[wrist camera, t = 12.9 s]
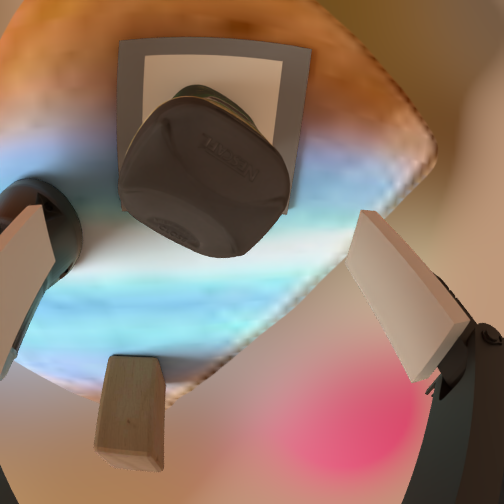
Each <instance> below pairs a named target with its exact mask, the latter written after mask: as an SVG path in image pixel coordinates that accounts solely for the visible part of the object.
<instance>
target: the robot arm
mask: <svg viewBox="0 0 504 504" xmlns="http://www.w3.org/2000/svg"><path fill="white" fill-rule="evenodd" d="M81 248H82V230H81V225H80V222H79V219H78V217H77V214H76V212H75V210H74V209H73V207H72V205H71V204H70V202H69V201H68V200H67V199H66V197H65V196H64V195H63V194H62V193H61V192H60V191H58V190H57V189H56V188H54V187H53V186H51V185H50V184H48V183H46V182H43V181H40V180H37V179H22V180H19V181H16V182H14V183H13V184H11V185H10V186H9V187H7V188H6V189H5V190H4V191H3V192H2V193H1V194H0V381H1V380H2V379H3V378H4V377H5V376H6V375H7V373H8V371H9V368H10V366H11V364H12V362H13V360H14V359H15V358H16V357H17V355H18V350H19V348H20V345H21V343H22V340H23V338H24V336H25V333H26V331H27V329H28V327H29V324H30V322H31V320H32V318H33V315H34V313H35V311H36V309H37V307H38V305H39V303H40V301H41V299H42V297H43V295H44V293H45V291H46V290H47V289H49V288H50V287H51V286H53V285H54V284H55V283H56V282H58V281H59V280H60V279H62V278H63V277H64V276H66V275H67V274H68V273H69V272H70V270H71V269H72V268H73V266H74V264H75V262H76V260H77V259H78V257H79V254H80V252H81ZM345 265H346V266H347V268H348V270H349V271H350V273H351V275H352V276H353V278H354V280H355V281H356V283H357V285H358V286H359V288H360V290H361V291H362V293H363V295H364V296H365V298H366V300H367V301H368V303H369V305H370V307H371V308H372V310H373V312H374V314H375V316H376V317H377V319H378V321H379V323H380V324H381V326H382V328H383V330H384V332H385V333H386V335H387V337H388V339H389V341H390V343H391V344H392V346H393V348H394V350H395V352H396V354H397V356H398V358H399V359H400V361H401V363H402V365H403V367H404V369H405V371H406V373H407V375H408V377H409V378H410V381H411V383H413V382H417V381H421V380H424V379H427V378H429V376H430V375H431V374H432V372H434V370H435V369H436V368H437V367H438V369H439V371H440V372H441V374H440V375H439V376H438V377H437V379H436V380H435V381H434V382H433V383H432V385H431V386H430V387H429V388H428V389H427V391H426V393H425V394H427V395H428V394H429V393H430V392H431V390H432V389H434V388H435V390H434V393H433V394H432V397H433V400H432V405H431V409H430V414H429V418H428V422H427V426H426V431H425V434H424V438H423V442H422V445H421V449H420V452H419V456H418V459H417V462H416V465H415V468H414V471H413V474H412V477H411V480H410V483H409V486H408V488H407V491H406V494H405V496H404V499H403V501H402V504H504V338H502V336H501V334H500V333H499V332H498V331H497V330H496V329H495V328H494V327H492V326H491V325H489V324H486V323H479V324H478V325H477V323H476V322H475V321H474V320H473V318H472V317H471V316H470V314H469V313H468V312H467V310H466V309H465V308H464V306H463V305H462V304H461V302H460V301H459V300H458V299H457V298H455V295H454V294H453V292H452V291H451V290H449V288H448V286H447V285H446V284H445V283H444V282H443V280H442V279H441V278H439V277H438V276H437V275H435V274H434V273H433V272H432V271H431V270H430V269H429V268H428V267H427V266H426V264H425V263H424V262H423V261H422V260H421V259H420V258H419V256H418V255H417V254H416V253H415V252H414V251H413V250H412V249H411V248H410V246H409V245H408V244H407V243H406V242H405V241H404V240H403V239H402V238H401V237H400V236H399V234H398V233H396V231H395V230H394V229H393V228H392V227H391V226H390V225H389V224H388V223H387V222H386V221H385V220H384V219H383V218H382V217H381V216H380V215H379V214H378V213H377V212H376V211H369V210H361V211H360V215H359V218H358V222H357V225H356V229H355V232H354V236H353V239H352V242H351V246H350V249H349V252H348V255H347V259H346V262H345ZM0 504H19V503H18V501H17V500H16V497H15V496H14V494H13V492H12V490H11V488H10V485H9V483H8V481H7V479H6V477H5V475H4V473H3V471H2V468H1V466H0Z"/></svg>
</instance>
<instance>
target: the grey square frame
mask: <svg viewBox="0 0 504 504" xmlns="http://www.w3.org/2000/svg"><path fill="white" fill-rule="evenodd" d="M311 51H312V49H308V48H303V47H297V46H291V45H285V44H278V43H271V42H263V41H254V40H243V39H231V38H212V37H162V38H144V39H132V40H121V41H119V53H118V70H117V153H118V171H119V174H120V170H121V167H122V165H123V162H124V159H125V155H126V152H127V150H128V148H129V146H130V143H131V142H132V140H133V138H134V136H135V135H136V133H137V131H138V130H139V128H140V127H141V126H142V124H143V123H144V121H145V120H146V118H147V117H148V116H149V115H150V114H151V113H152V112H153V111H154V110H155V109H156V108H157V107H158V106H159V105H161V104H162V103H164V102H166V101H168V100H170V99H172V98H173V97H174V96H175V95H176V94H177V93H178V92H179V91H180V90H181V89H183V88H184V87H186V86H189V85H204V86H207V87H209V88H211V89H213V90H215V91H217V92H219V93H221V94H223V95H224V96H226V97H227V98H229V99H230V100H231V101H233V102H234V103H236V104H237V105H238V106H239V107H240V108H242V109H243V110H244V111H245V112H246V113H247V114H248V115H249V116H250V117H251V119H252V120H253V122H254V124H255V125H256V127H257V129H258V130H259V131H260V133H261V134H262V135H263V136H264V137H265V138H266V139H267V140H268V141H269V142H270V143H271V144H272V145H273V146H274V147H275V148H276V149H277V151H278V152H279V153H280V154H281V156H282V158H283V160H284V162H285V165H286V167H287V170H288V173H289V177H290V193H291V187H292V181H293V175H294V169H295V163H296V156H297V150H298V143H299V137H300V130H301V124H302V117H303V110H304V103H305V96H306V89H307V82H308V74H309V67H310V59H311ZM289 199H290V195H289ZM289 199H288V203H287V206H286V208H285V210H284V211H283V213H282V214H285V215H287V211H288V205H289ZM121 208H122V211H127V210H126V208H125V207H124V205H123V204H122V202H121Z"/></svg>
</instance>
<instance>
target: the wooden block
mask: <svg viewBox="0 0 504 504" xmlns="http://www.w3.org/2000/svg"><path fill="white" fill-rule="evenodd" d="M165 391H166V384H165V381H164V378H163V374H162V371H161V367H160V364H159V361H158V359H157V358H154V357H127V356H110V357H109V359H108V363H107V368H106V373H105V378H104V383H103V389H102V394H101V400H100V406H99V412H98V419H97V426H96V433H95V440H94V450H95V452H96V453H97V454H98V455H99V456H100V457H101V458H102V459H103V460H105V461H106V462H107V463H108V464H109V465H110V466H112V467H114V468H119V469H127V470H136V471H148V472H161V471H163V469H164V418H165Z"/></svg>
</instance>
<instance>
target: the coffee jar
mask: <svg viewBox="0 0 504 504" xmlns="http://www.w3.org/2000/svg"><path fill="white" fill-rule="evenodd" d="M118 194H119V197H120V200H121V202H122V204H123V205H124V207H125V208H126V210H127V211H128V212H129V213H130V214H131V215H132V216H133V217H134V218H136V219H137V220H138V221H140V222H141V223H143V224H145V225H146V226H148V227H150V228H151V229H153V230H154V231H156V232H158V233H159V234H161V235H163V236H165V237H166V238H168V239H170V240H172V241H174V242H176V243H178V244H180V245H182V246H184V247H186V248H189V249H191V250H193V251H194V252H197V253H199V254H202V255H205V256H209V257H215V258H230V257H236V256H242V255H244V254H245V253H247V252H248V251H249V250H250V249H251V248H252V247H253V246H254V245H256V244H257V243H258V242H259V241H260V240H261V239H262V238H263V236H264V235H265V234H266V233H267V232H268V231H269V230H270V229H271V227H272V226H273V225H274V224H275V222H276V221H277V220H278V219H279V217H280V216H281V215H282V213H283V211H284V210H285V208H286V206H287V203H288V199H289V195H290V177H289V173H288V170H287V167H286V165H285V162H284V160H283V158H282V156H281V154H280V153H279V152H278V151H277V149H276V148H275V147H274V146H273V145H272V144H271V143H270V142H269V141H268V140H267V139H266V138H265V137H264V136H263V135H262V134H261V133H260V131H259V130H258V129H257V127H256V125H255V124H254V122H253V120H252V119H251V117H250V116H249V115H248V114H247V113H246V112H245V111H244V110H243V109H242V108H240V107H239V106H238V105H237V104H236V103H234V102H233V101H231V100H230V99H229V98H227V97H226V96H224V95H223V94H221V93H219V92H217V91H215V90H213V89H211V88H209V87H207V86H204V85H189V86H186V87H184V88H183V89H181V90H180V91H179V92H178V93H177V94H176V95H175V96H174V97H173V98H172V99H170V100H168V101H166V102H164V103H162V104H161V105H159V106H158V107H157V108H156V109H155V110H154V111H153V112H152V113H151V114H150V115H149V116H148V117H147V118H146V120H145V121H144V123H143V124H142V126H141V127H140V128H139V130H138V131H137V133H136V135H135V136H134V138H133V140H132V142H131V143H130V146H129V148H128V150H127V152H126V155H125V159H124V162H123V165H122V167H121V170H120V174H119V179H118Z"/></svg>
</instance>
